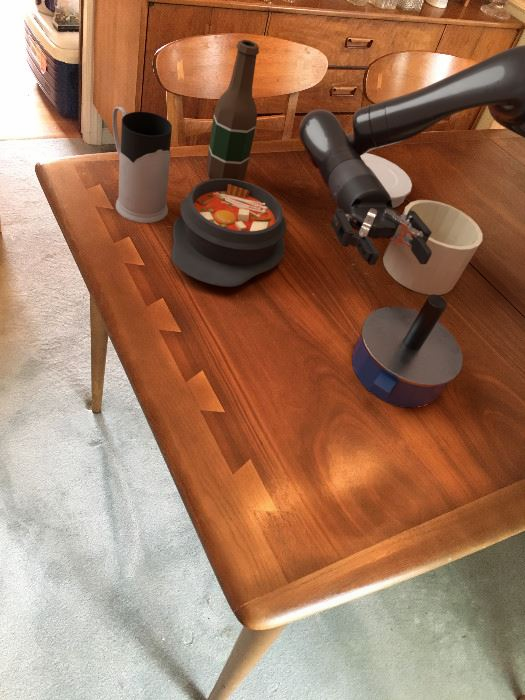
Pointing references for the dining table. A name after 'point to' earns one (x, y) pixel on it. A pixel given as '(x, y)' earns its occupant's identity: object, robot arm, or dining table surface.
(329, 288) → the dining table surface
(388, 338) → the steel lid
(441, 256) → the pot
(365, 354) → the pan
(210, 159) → the beer bottle
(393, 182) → the lid
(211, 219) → the casserole
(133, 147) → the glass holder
